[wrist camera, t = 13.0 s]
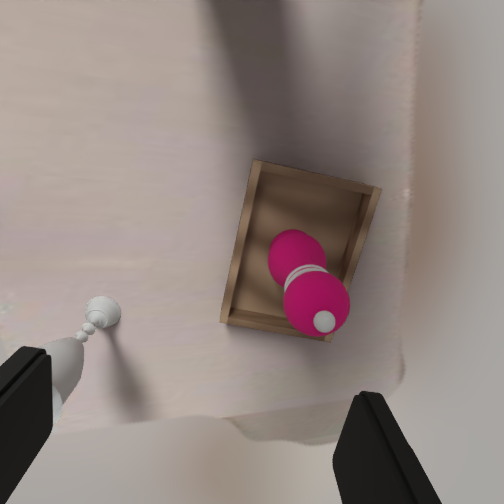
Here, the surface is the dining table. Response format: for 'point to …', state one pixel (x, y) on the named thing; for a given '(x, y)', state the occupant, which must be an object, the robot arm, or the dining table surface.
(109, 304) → the chalice
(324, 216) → the serving tray
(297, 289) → the pepper mill
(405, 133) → the dining table surface
